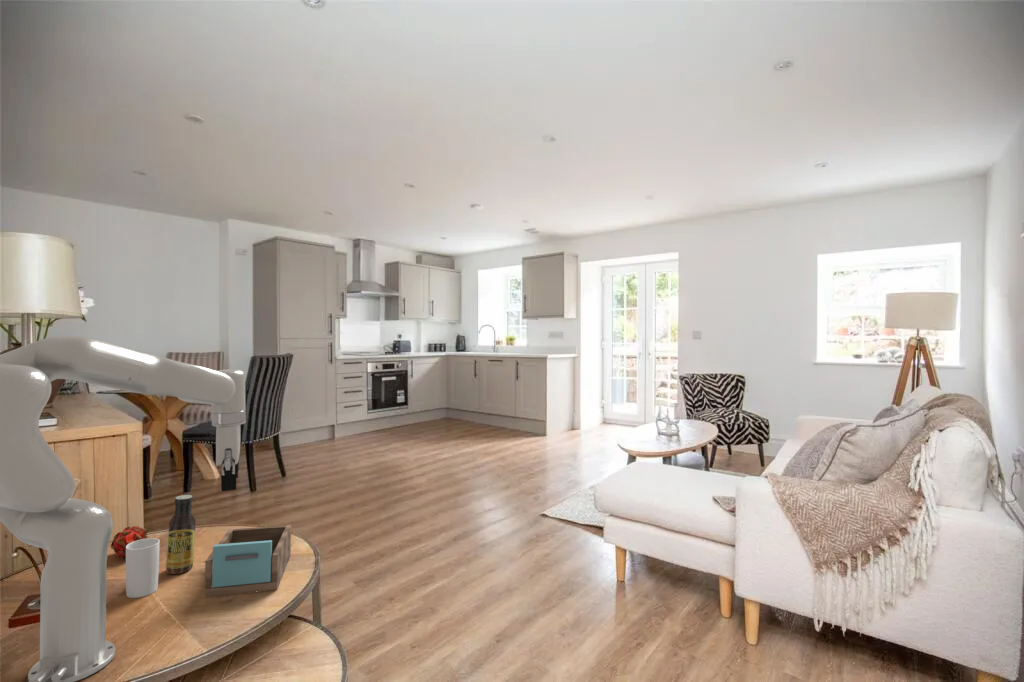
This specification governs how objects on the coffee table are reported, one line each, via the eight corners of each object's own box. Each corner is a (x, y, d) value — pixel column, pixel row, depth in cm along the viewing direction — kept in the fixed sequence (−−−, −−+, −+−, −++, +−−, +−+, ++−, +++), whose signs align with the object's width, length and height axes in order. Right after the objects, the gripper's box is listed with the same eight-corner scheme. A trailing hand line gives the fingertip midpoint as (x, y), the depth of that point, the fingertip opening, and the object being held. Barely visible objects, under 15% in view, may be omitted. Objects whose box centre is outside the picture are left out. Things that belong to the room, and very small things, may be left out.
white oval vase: (155, 595, 121) (155, 547, 121) (121, 601, 119) (121, 551, 119) (164, 577, 131) (165, 531, 131) (133, 581, 128) (134, 535, 128)
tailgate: (269, 583, 124) (270, 543, 124) (211, 589, 121) (211, 548, 121) (271, 579, 126) (272, 540, 126) (213, 585, 123) (214, 544, 123)
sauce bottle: (163, 577, 131) (164, 502, 130) (168, 567, 136) (169, 494, 136) (192, 573, 133) (193, 499, 133) (196, 563, 139) (197, 492, 139)
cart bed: (277, 590, 125) (277, 554, 125) (204, 597, 121) (205, 560, 121) (290, 555, 145) (291, 524, 145) (228, 561, 140) (229, 529, 140)
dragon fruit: (136, 551, 149) (130, 573, 139) (106, 539, 145) (98, 562, 135) (156, 526, 151) (152, 547, 141) (128, 514, 147) (122, 535, 136)
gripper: (214, 413, 133) (215, 476, 134) (208, 426, 117) (209, 497, 118) (246, 411, 136) (247, 473, 137) (244, 423, 121) (245, 492, 122)
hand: (229, 484), depth 128 cm, fingers open, 9 cm apart
